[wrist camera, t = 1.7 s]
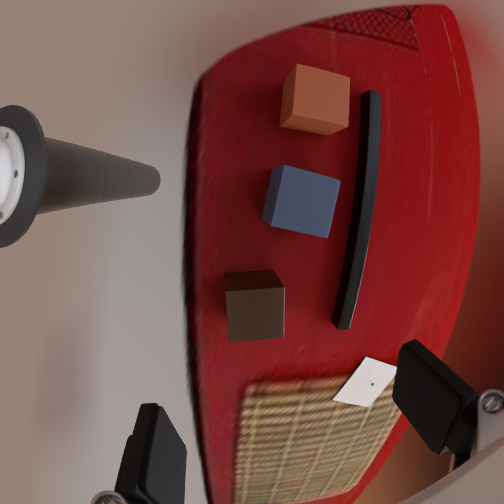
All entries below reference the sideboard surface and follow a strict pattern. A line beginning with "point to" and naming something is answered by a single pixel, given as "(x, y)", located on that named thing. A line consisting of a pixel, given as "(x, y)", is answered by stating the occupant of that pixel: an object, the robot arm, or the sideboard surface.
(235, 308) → the walnut block
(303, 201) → the slate blue block
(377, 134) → the rail
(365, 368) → the coaster
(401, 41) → the sideboard surface
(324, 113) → the terracotta block
